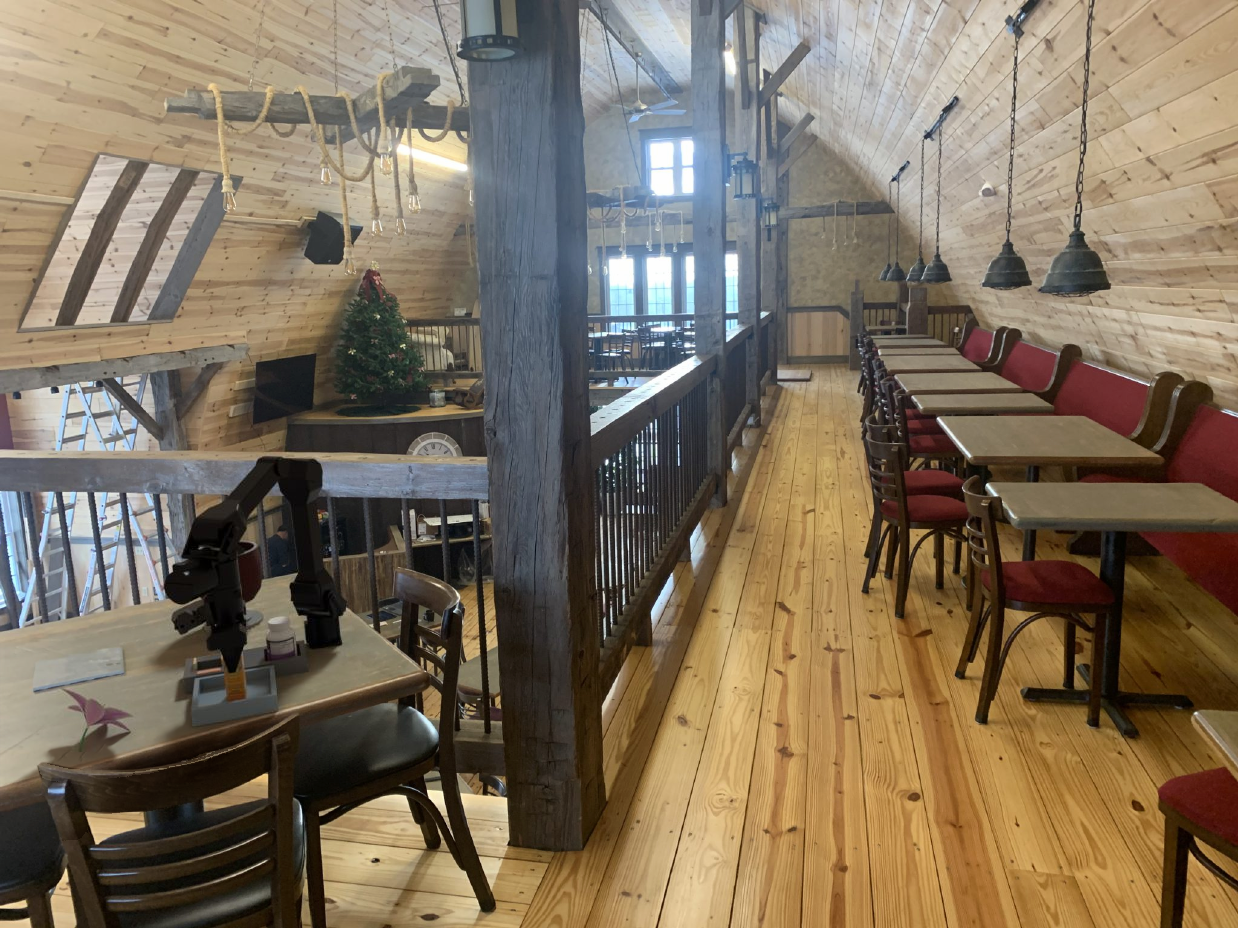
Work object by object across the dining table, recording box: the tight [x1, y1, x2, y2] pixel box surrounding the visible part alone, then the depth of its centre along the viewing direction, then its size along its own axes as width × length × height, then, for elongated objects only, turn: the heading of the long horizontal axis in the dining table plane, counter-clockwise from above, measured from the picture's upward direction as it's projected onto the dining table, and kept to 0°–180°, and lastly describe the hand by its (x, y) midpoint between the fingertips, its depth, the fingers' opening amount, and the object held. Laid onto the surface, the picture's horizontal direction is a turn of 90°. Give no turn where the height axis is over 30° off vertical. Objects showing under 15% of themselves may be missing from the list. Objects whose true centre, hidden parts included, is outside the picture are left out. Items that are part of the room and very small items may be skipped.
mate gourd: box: [198, 540, 265, 632], centre depth 196 cm, size 16×14×20 cm
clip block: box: [182, 639, 309, 694], centre depth 171 cm, size 22×9×4 cm, turn 113°
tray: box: [190, 665, 279, 728], centre depth 159 cm, size 14×14×3 cm
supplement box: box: [222, 651, 247, 702], centre depth 158 cm, size 3×3×10 cm
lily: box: [61, 687, 134, 752], centre depth 147 cm, size 12×12×10 cm
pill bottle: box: [265, 615, 297, 661], centre depth 173 cm, size 5×5×10 cm
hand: (232, 668), depth 158 cm, fingers open, 4 cm apart
